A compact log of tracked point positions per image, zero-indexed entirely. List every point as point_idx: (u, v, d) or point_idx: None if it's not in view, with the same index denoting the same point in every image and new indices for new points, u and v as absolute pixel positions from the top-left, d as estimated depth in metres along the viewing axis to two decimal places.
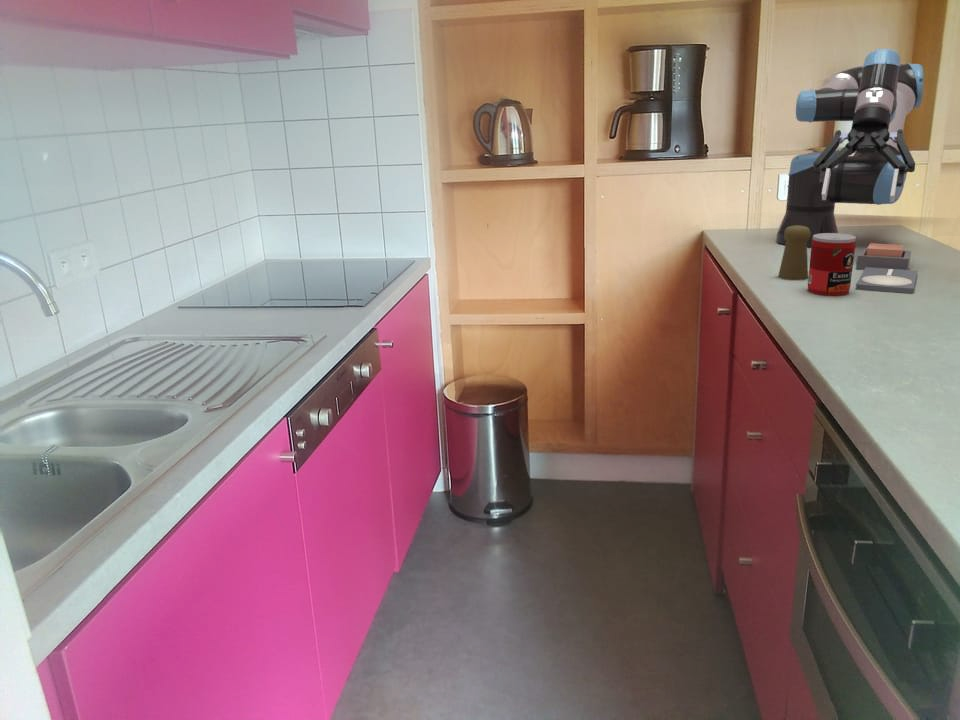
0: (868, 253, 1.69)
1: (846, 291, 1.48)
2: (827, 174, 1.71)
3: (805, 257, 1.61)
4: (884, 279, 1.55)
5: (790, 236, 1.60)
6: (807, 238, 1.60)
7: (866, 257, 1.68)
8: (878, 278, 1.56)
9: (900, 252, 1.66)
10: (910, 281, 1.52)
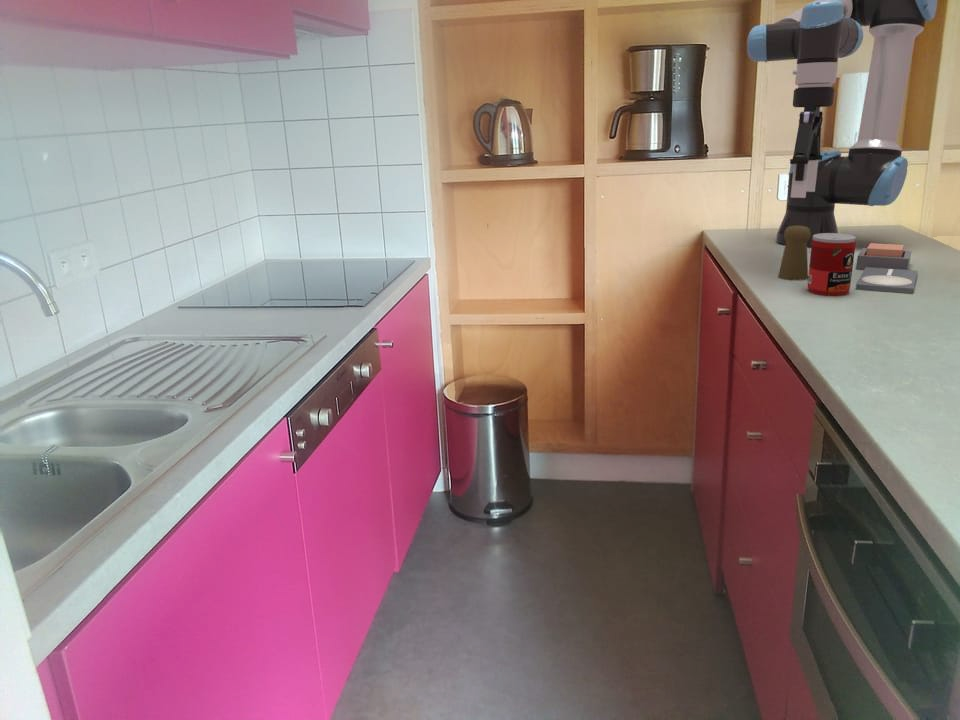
0: (868, 253, 1.69)
1: (846, 291, 1.48)
2: None
3: (805, 257, 1.61)
4: (884, 279, 1.55)
5: (790, 236, 1.60)
6: (807, 238, 1.60)
7: (866, 257, 1.68)
8: (878, 278, 1.56)
9: (900, 252, 1.66)
10: (910, 281, 1.52)
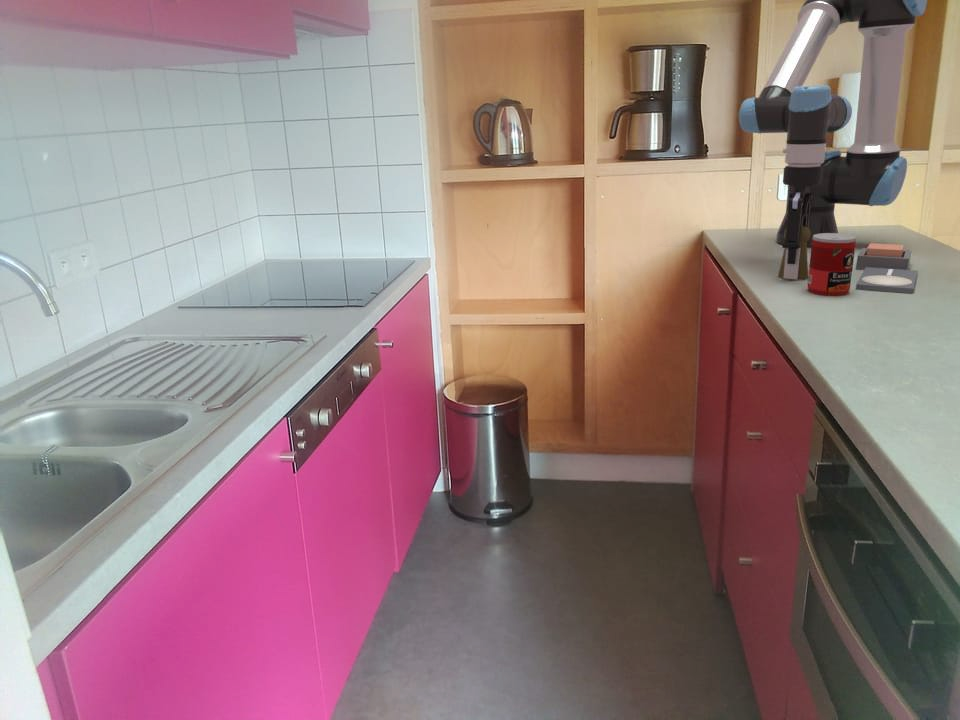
0: (868, 253, 1.69)
1: (846, 291, 1.48)
2: None
3: (805, 257, 1.61)
4: (884, 279, 1.55)
5: None
6: (807, 238, 1.60)
7: (866, 257, 1.68)
8: (878, 278, 1.56)
9: (900, 252, 1.66)
10: (910, 281, 1.52)
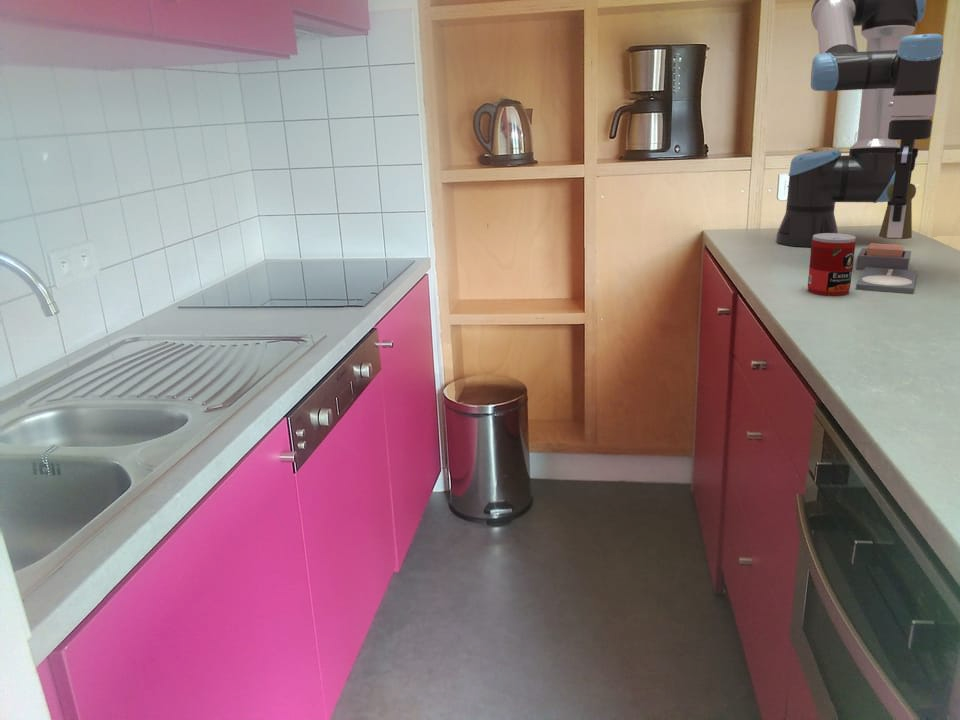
0: (868, 253, 1.69)
1: (846, 291, 1.48)
2: None
3: (910, 215, 1.56)
4: (884, 279, 1.55)
5: None
6: (913, 195, 1.54)
7: (866, 257, 1.68)
8: (878, 278, 1.56)
9: (900, 252, 1.66)
10: (910, 281, 1.52)
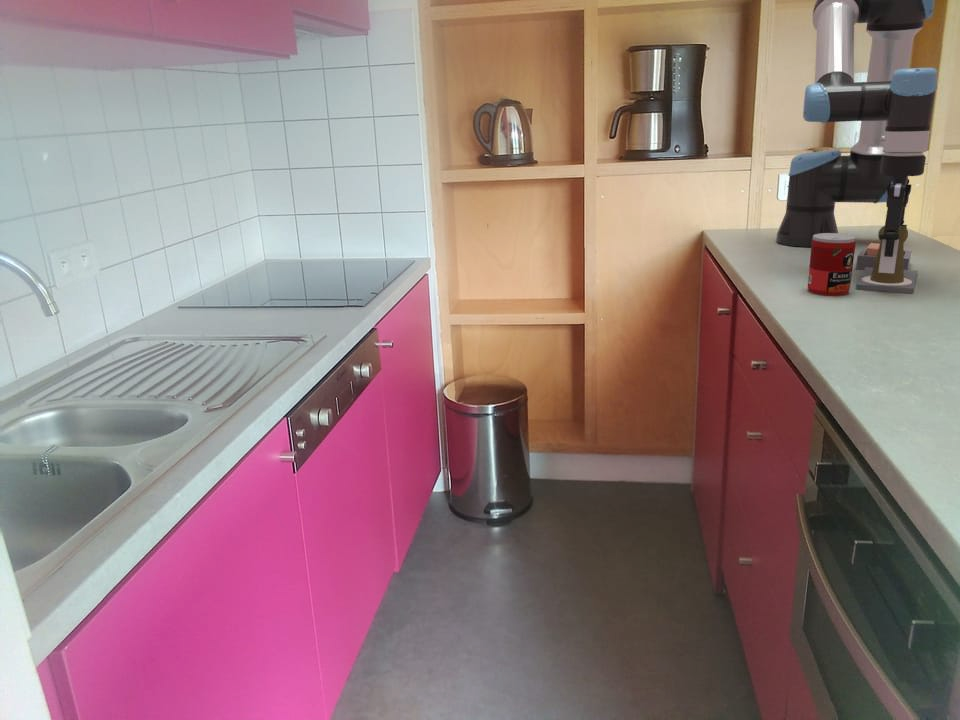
0: (868, 253, 1.69)
1: (846, 291, 1.48)
2: None
3: (902, 259, 1.51)
4: None
5: None
6: (905, 238, 1.49)
7: (866, 257, 1.68)
8: None
9: None
10: (910, 281, 1.52)
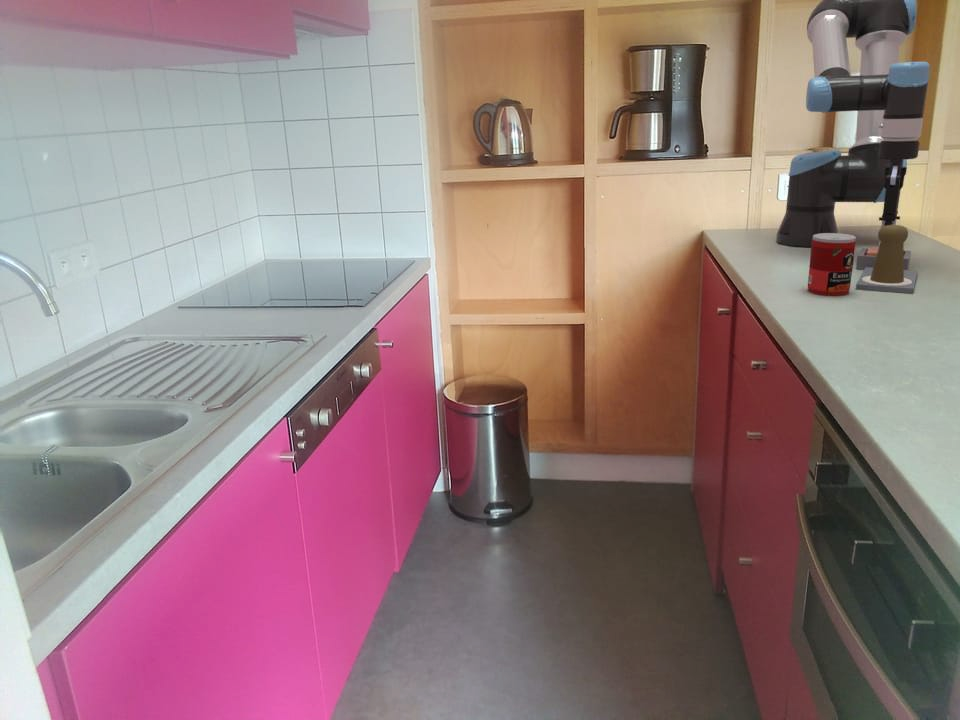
0: None
1: (846, 291, 1.48)
2: None
3: (902, 259, 1.51)
4: None
5: (886, 236, 1.50)
6: (905, 238, 1.49)
7: (866, 257, 1.68)
8: None
9: None
10: (910, 281, 1.52)
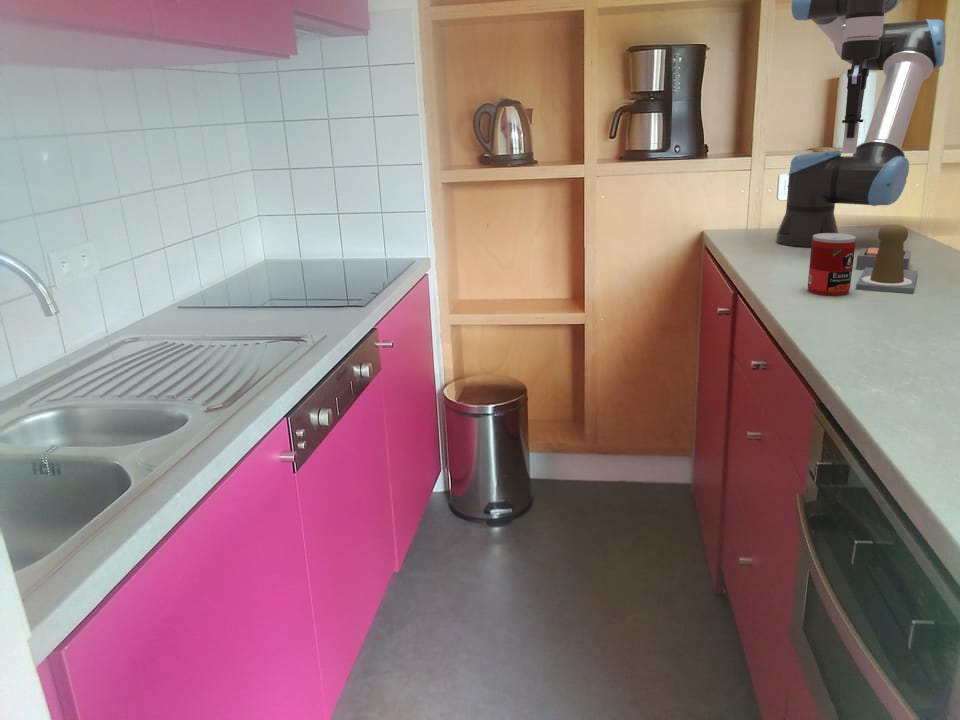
0: None
1: (846, 291, 1.48)
2: (845, 130, 1.71)
3: (902, 259, 1.51)
4: None
5: (886, 236, 1.50)
6: (905, 238, 1.49)
7: (866, 257, 1.68)
8: None
9: None
10: (910, 281, 1.52)
